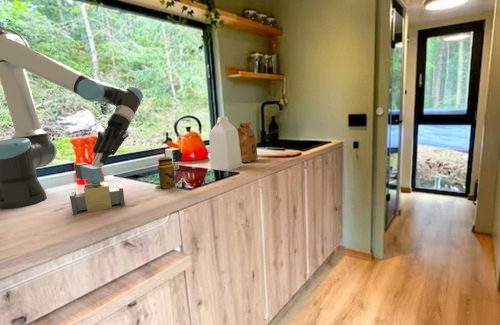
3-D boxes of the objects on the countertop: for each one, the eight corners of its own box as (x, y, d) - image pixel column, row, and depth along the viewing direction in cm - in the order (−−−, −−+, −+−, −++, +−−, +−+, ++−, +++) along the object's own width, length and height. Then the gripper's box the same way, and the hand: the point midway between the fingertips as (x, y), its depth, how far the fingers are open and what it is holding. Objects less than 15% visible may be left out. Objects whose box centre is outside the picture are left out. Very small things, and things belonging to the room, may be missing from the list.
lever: (90, 184, 93) (88, 169, 92) (73, 178, 105) (71, 164, 104) (106, 181, 97) (104, 166, 96) (88, 175, 108) (86, 161, 107)
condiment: (176, 188, 117) (173, 158, 114) (154, 191, 115) (150, 161, 113) (176, 184, 124) (173, 156, 121) (155, 186, 122) (152, 158, 120)
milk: (228, 170, 145) (224, 117, 140) (210, 169, 151) (206, 118, 146) (242, 165, 155) (238, 115, 150) (224, 164, 161) (220, 116, 156)
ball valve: (72, 215, 92) (68, 188, 90) (74, 209, 98) (70, 184, 97) (125, 205, 98) (121, 180, 97) (123, 200, 105) (120, 176, 103)
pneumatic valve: (176, 171, 150) (173, 148, 148) (165, 169, 159) (163, 146, 157) (185, 169, 154) (183, 146, 152) (174, 167, 162) (172, 145, 160)
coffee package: (260, 159, 169) (258, 121, 165) (248, 164, 159) (246, 123, 155) (246, 159, 175) (243, 121, 171) (233, 163, 165) (231, 123, 161)
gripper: (100, 113, 116) (71, 164, 104) (129, 112, 112) (102, 164, 100) (112, 126, 122) (86, 175, 110) (140, 124, 118) (116, 175, 106)
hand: (94, 170), depth 105 cm, fingers closed
